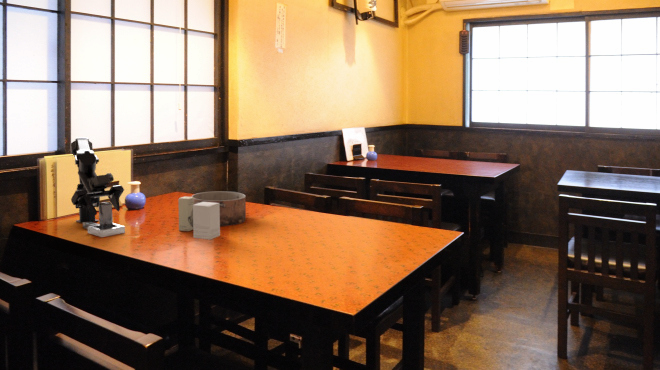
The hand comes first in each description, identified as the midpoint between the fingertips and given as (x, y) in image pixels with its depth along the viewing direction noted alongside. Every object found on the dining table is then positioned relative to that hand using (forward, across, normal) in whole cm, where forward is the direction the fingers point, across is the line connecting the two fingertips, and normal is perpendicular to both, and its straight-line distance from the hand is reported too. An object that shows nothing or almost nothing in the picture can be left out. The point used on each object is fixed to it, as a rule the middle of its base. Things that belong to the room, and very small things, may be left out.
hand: (107, 212), depth 200 cm
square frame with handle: (+1, 0, +10) cm, 10 cm away
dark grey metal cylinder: (+5, 0, +7) cm, 8 cm away
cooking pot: (+15, +43, -3) cm, 45 cm away
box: (+18, +23, -6) cm, 30 cm away
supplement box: (+28, +21, -16) cm, 38 cm away
